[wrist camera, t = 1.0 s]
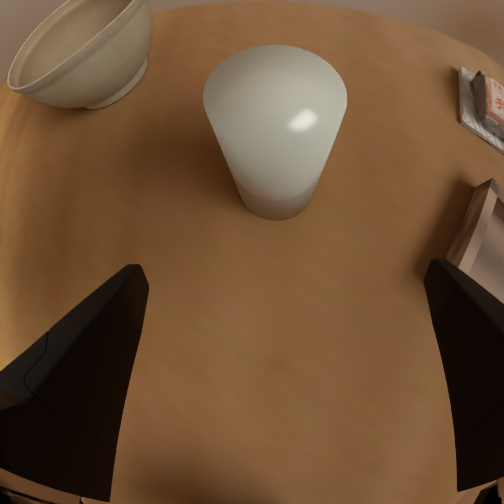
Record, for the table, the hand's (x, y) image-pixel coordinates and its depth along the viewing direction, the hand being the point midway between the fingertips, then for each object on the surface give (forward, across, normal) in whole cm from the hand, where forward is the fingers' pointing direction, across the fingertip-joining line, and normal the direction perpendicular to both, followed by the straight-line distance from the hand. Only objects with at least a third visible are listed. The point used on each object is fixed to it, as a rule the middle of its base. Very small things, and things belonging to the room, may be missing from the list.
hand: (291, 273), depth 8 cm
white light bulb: (+15, 0, +4) cm, 15 cm away
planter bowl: (+26, +18, -7) cm, 32 cm away
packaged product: (+22, -30, -2) cm, 37 cm away
